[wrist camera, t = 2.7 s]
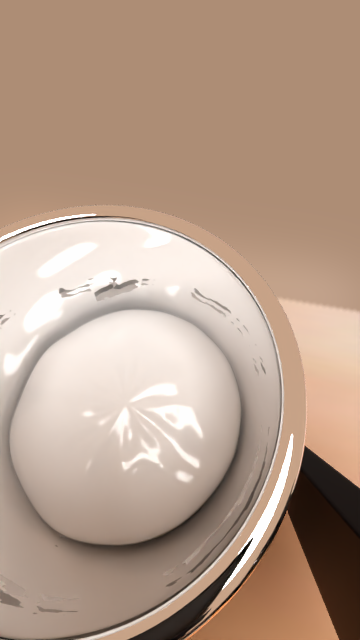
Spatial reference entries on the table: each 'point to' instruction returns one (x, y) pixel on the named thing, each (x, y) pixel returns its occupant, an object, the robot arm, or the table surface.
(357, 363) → the table surface
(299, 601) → the table surface
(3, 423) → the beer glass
